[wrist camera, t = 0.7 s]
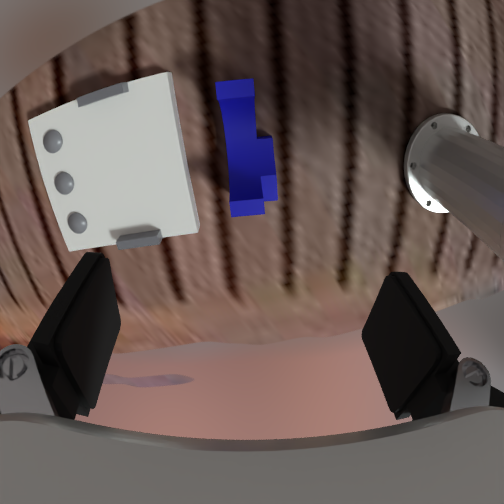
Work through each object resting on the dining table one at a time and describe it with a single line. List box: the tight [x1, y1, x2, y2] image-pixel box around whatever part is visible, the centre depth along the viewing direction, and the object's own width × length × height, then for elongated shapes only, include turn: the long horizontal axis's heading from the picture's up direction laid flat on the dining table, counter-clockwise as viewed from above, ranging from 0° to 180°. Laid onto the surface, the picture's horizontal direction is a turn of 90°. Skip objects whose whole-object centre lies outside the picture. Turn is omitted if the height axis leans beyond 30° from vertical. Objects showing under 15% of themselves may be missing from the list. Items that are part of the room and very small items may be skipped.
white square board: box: [28, 72, 200, 251], centre depth 28 cm, size 17×17×4 cm
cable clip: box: [215, 78, 278, 217], centre depth 27 cm, size 12×4×6 cm, turn 5°
